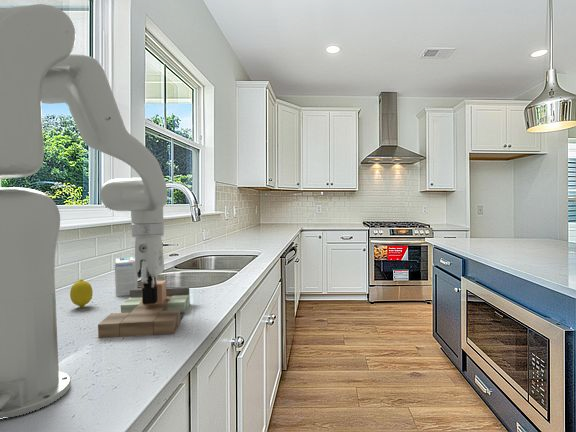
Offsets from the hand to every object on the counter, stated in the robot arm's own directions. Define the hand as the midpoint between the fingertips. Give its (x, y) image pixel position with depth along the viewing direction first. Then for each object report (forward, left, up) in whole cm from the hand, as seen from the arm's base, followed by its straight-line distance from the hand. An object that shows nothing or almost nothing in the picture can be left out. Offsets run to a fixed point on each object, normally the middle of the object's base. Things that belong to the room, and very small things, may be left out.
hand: (150, 302), depth 92 cm
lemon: (+14, +22, -4) cm, 26 cm away
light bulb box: (+31, +15, -4) cm, 35 cm away
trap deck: (0, 0, -4) cm, 4 cm away
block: (+5, 0, -1) cm, 5 cm away
